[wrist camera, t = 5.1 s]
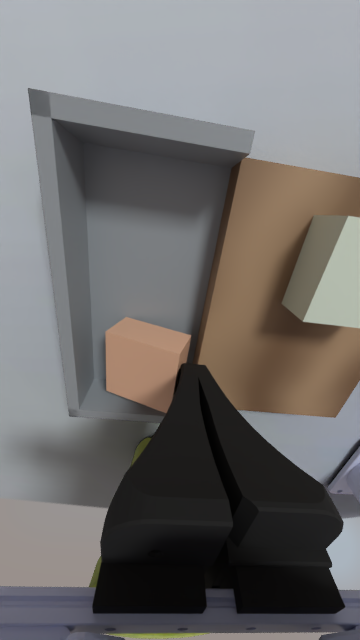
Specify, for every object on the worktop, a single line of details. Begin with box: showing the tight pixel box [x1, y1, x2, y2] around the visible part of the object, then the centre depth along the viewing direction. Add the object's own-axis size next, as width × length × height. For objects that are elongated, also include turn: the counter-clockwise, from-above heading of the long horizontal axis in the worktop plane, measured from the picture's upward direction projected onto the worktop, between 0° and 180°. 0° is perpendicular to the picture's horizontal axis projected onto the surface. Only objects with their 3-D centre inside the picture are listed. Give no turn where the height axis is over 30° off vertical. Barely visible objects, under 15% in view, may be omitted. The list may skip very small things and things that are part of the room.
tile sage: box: [281, 215, 360, 328], centre depth 9 cm, size 4×4×2 cm
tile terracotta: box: [105, 317, 191, 413], centre depth 12 cm, size 4×4×2 cm
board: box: [192, 158, 360, 418], centre depth 12 cm, size 10×13×2 cm
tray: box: [28, 88, 255, 423], centre depth 11 cm, size 7×14×3 cm, turn 172°
